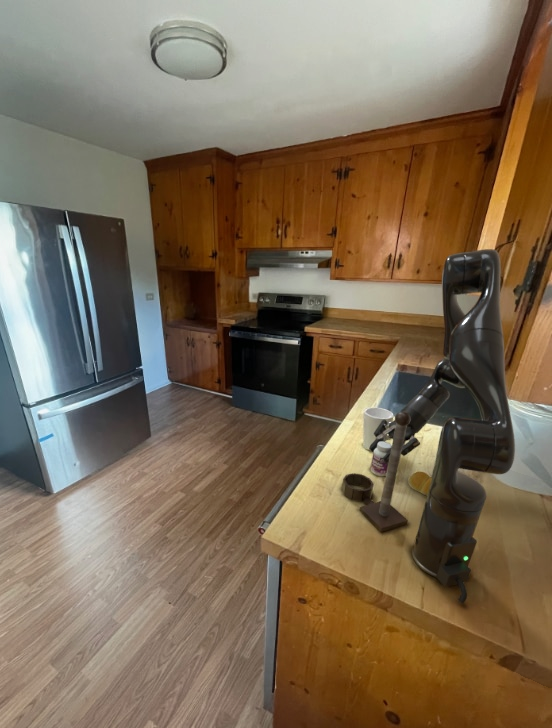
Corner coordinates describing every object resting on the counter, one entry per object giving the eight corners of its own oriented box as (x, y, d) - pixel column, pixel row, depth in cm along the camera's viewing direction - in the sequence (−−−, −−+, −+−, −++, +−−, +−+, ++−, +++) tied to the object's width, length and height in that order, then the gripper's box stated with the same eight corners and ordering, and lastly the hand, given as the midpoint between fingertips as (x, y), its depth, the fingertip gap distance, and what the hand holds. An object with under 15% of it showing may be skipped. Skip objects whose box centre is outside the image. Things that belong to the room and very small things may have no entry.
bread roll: (436, 502, 88) (439, 490, 87) (403, 486, 94) (406, 474, 93) (448, 489, 93) (451, 478, 92) (416, 475, 99) (419, 464, 98)
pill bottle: (368, 473, 100) (373, 445, 97) (372, 465, 104) (376, 438, 101) (387, 478, 98) (392, 450, 94) (390, 470, 102) (395, 442, 98)
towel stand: (407, 523, 81) (433, 417, 70) (380, 532, 78) (403, 422, 67) (359, 481, 97) (374, 388, 86) (336, 486, 94) (348, 392, 83)
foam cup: (353, 442, 118) (358, 409, 113) (375, 438, 121) (381, 406, 116) (369, 455, 110) (375, 420, 105) (392, 451, 112) (399, 417, 107)
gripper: (393, 398, 102) (356, 438, 102) (431, 416, 89) (389, 462, 90) (403, 411, 106) (367, 450, 106) (441, 430, 93) (400, 474, 94)
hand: (377, 455), depth 98 cm, fingers closed on pill bottle, 5 cm apart
